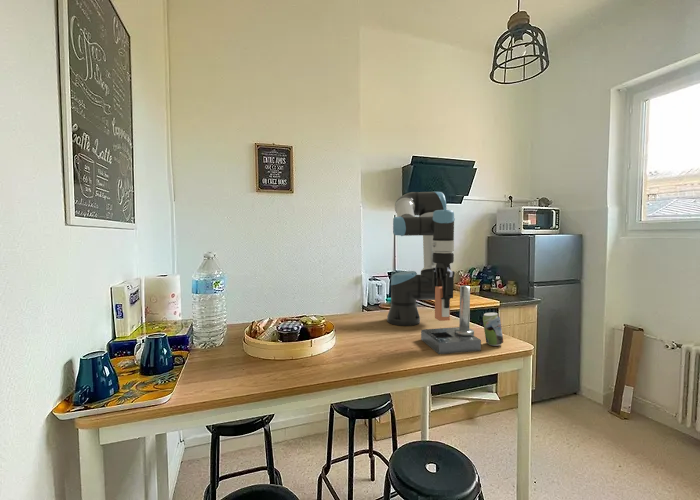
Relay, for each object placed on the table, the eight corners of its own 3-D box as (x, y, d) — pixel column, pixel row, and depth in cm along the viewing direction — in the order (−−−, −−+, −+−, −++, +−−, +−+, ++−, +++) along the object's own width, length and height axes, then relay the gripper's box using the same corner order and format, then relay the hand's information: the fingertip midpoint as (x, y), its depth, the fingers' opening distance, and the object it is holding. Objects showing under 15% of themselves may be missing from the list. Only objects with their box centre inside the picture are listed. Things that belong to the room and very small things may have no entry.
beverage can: (505, 348, 127) (505, 315, 126) (483, 346, 129) (484, 314, 128) (501, 342, 133) (501, 311, 132) (480, 341, 135) (481, 310, 134)
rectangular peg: (434, 318, 131) (435, 286, 130) (444, 317, 132) (445, 286, 131) (439, 320, 127) (439, 288, 126) (449, 320, 128) (450, 287, 127)
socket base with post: (421, 339, 137) (421, 284, 136) (461, 336, 140) (462, 282, 139) (439, 354, 121) (439, 292, 120) (484, 350, 125) (485, 289, 123)
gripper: (424, 250, 135) (423, 310, 137) (444, 254, 119) (443, 321, 120) (442, 250, 137) (441, 309, 138) (464, 253, 120) (463, 320, 122)
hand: (442, 314), depth 129 cm, fingers closed on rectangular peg, 4 cm apart
